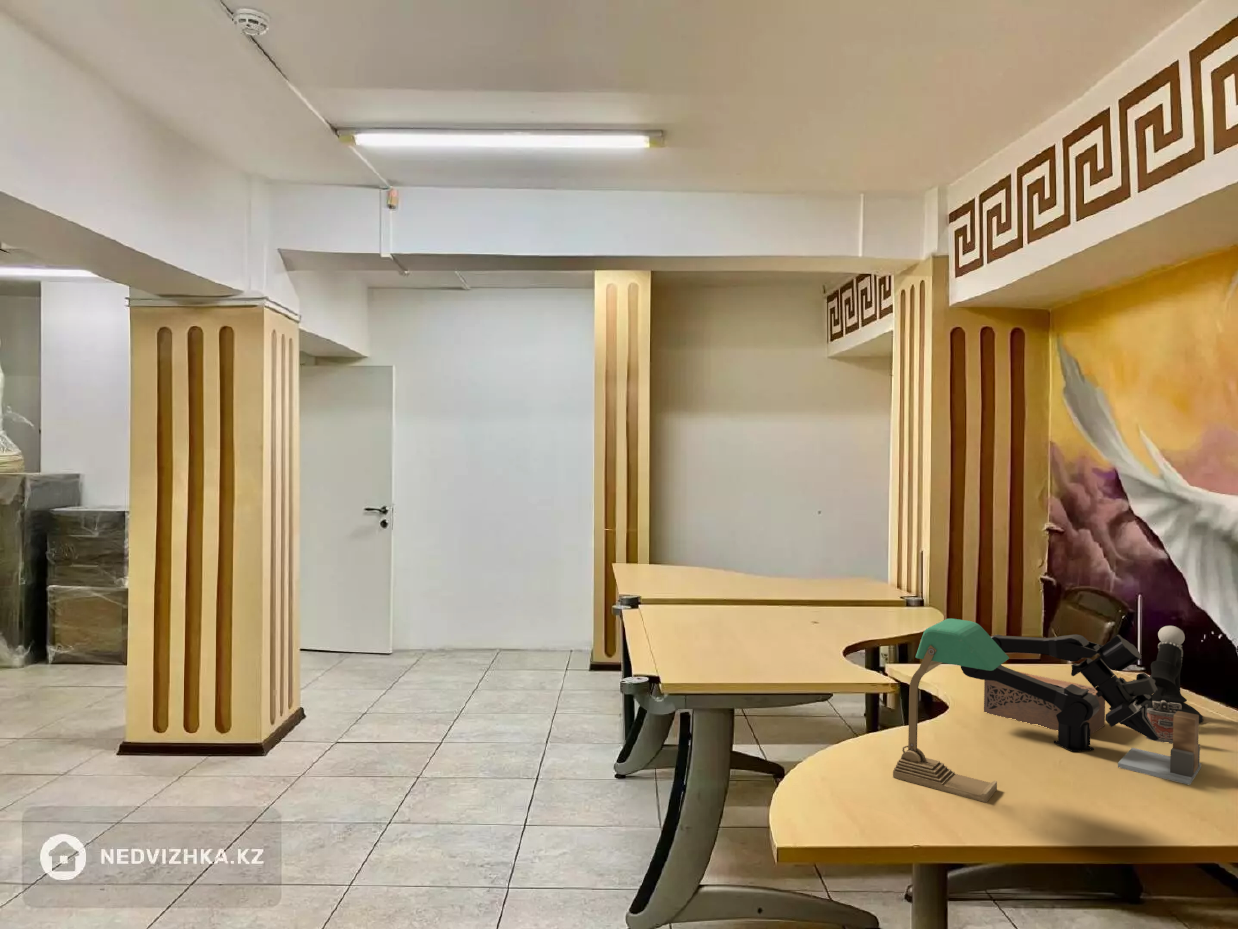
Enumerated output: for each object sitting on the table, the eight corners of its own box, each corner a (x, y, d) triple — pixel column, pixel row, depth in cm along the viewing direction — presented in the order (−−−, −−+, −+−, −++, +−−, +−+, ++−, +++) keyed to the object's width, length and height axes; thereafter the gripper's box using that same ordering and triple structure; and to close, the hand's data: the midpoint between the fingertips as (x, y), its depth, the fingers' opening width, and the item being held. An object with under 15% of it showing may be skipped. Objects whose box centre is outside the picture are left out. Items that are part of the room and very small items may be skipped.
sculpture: (1207, 716, 221) (1209, 627, 221) (1190, 736, 205) (1192, 640, 205) (1143, 703, 232) (1145, 618, 232) (1122, 721, 216) (1124, 630, 215)
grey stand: (1117, 767, 183) (1118, 741, 183) (1131, 751, 193) (1132, 727, 193) (1189, 785, 173) (1190, 757, 173) (1200, 767, 183) (1201, 742, 183)
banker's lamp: (911, 761, 185) (914, 612, 184) (1008, 786, 171) (1011, 625, 171) (886, 782, 172) (889, 622, 172) (988, 810, 159) (992, 637, 159)
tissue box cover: (983, 713, 222) (984, 677, 222) (1005, 703, 231) (1006, 669, 231) (1085, 738, 202) (1085, 699, 202) (1104, 726, 212) (1105, 689, 212)
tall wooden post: (1172, 768, 179) (1173, 715, 179) (1176, 762, 183) (1177, 710, 183) (1193, 773, 177) (1195, 720, 176) (1197, 767, 180) (1198, 715, 180)
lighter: (1146, 740, 202) (1147, 700, 201) (1145, 735, 205) (1146, 697, 204) (1185, 745, 198) (1186, 705, 198) (1183, 741, 201) (1184, 702, 201)
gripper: (1123, 670, 180) (1180, 731, 173) (1142, 656, 194) (1195, 713, 186) (1083, 696, 186) (1136, 756, 178) (1104, 681, 199) (1154, 736, 192)
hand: (1157, 739), depth 184 cm, fingers closed
